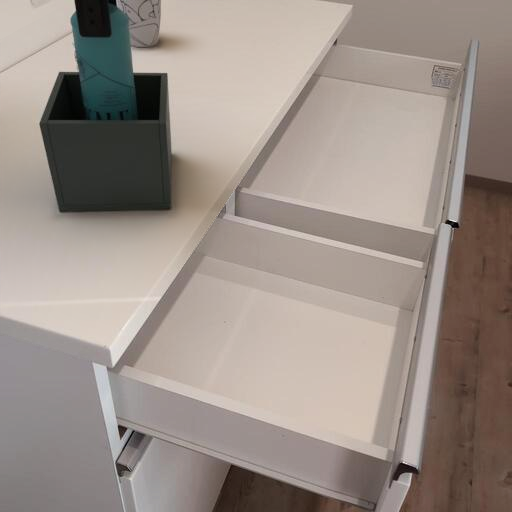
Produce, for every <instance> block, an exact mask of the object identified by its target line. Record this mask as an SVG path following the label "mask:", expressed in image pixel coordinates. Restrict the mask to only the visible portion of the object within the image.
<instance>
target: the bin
mask: <svg viewBox="0 0 512 512" xmlns="http://www.w3.org/2000/svg"><path fill="white" fill-rule="evenodd" d="M78 75H79V71H59V72H58V73H57V75H56V79H55V81H54V84H53V87H52V90H51V92H50V95H49V96H48V100H47V102H46V104H45V107H44V109H43V113H42V115H41V117H40V120H39V129H40V133H41V137H42V142H43V147H44V151H45V155H46V160H47V164H48V169H49V172H50V177H51V183H52V186H53V191H54V195H55V200H56V203H57V207H58V208H57V209H58V211H59V213H65V212H67V213H68V212H70V213H72V212H73V213H74V212H119V211H120V212H123V211H167V210H168V211H169V210H172V160H173V159H172V157H173V156H172V155H173V154H172V152H173V151H172V135H171V133H172V132H171V117H170V116H171V114H170V113H171V112H170V95H169V78H168V77H169V76H168V75H169V74H168V72H133V75H134V86H135V88H136V89H135V93H136V104H137V113H138V114H139V115H138V120H85V118H86V114H84V106H83V105H84V101H83V103H82V100H83V98H82V97H83V96H82V93H81V92H80V90H81V91H82V89H81V83H80V76H79V78H78ZM81 96H82V97H81ZM84 116H85V117H84Z"/></svg>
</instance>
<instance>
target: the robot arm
mask: <svg viewBox="0 0 512 512" xmlns="http://www.w3.org/2000/svg"><path fill="white" fill-rule="evenodd" d="M108 3H109V4H113V5H115V6H117V7H118V3H117V0H74V7H75V11H76V14H77V21H78V27H79V34H80V35H81V36H82V37H103V38H108V37H110V36H111V34H112V30H111V22H110V13H109V4H108Z"/></svg>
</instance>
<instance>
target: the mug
mask: <svg viewBox="0 0 512 512" xmlns="http://www.w3.org/2000/svg"><path fill="white" fill-rule="evenodd" d="M116 1H117V7H118V8H119V9H121V10H122V11H123V12H124V13H125V14H126V15H127V16H128V18H129V30H130V41H131V47H134V48H151V47H153V46H155V45H157V44H158V42H159V39H160V38H159V37H160V28H161V18H162V0H116Z"/></svg>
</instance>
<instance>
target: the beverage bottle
mask: <svg viewBox="0 0 512 512" xmlns="http://www.w3.org/2000/svg"><path fill="white" fill-rule="evenodd" d="M108 4H109V3H108ZM109 13H110V22H111V30H112V34H111V36H110V37H108V38H103V37H82V36H81V35H80V34H79V27H78V21H77V14H76V10H75V11H74V12H73V13H72V15H71V16H70V19H69V21H70V22H69V23H70V26H71V29H72V37H73V43H72V45H73V47H74V60H75V62H76V65H75V66H76V70H77V71H78V72H79V75H78V78H79V76H80V83H81V89H82V91H81V90H80V92H81V93H82V96H83V97H82V96H81V97H82V98H83V100H82V103H83V101H84V105H83V106H84V114H86V118H85V120H138V115H139V114H138V113H137V104H136V93H135V89H136V88H135V86H134V75H133V73H134V65H133V55H132V45H131V41H130V30H129V18H128V16H127V15H126V14H125V13H124V12H123V11H122V10H121V9H119V8H118V5H117V6H115V5H113V4H109ZM84 117H85V116H84Z"/></svg>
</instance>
